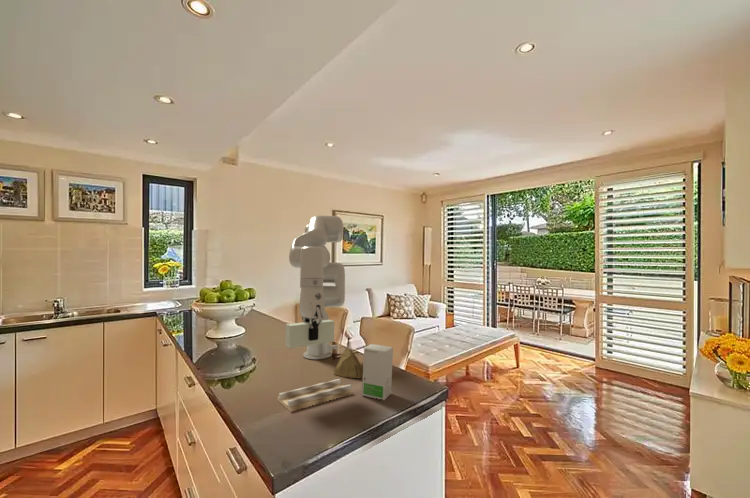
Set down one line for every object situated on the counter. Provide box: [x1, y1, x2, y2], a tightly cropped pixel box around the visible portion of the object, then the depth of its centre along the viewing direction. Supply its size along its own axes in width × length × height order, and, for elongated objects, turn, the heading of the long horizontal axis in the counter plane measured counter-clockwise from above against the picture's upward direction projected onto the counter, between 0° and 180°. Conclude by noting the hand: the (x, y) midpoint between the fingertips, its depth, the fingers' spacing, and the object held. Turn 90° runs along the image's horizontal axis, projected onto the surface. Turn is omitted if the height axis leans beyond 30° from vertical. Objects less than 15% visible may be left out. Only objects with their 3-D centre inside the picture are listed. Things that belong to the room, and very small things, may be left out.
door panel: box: [284, 319, 335, 349], centre depth 112 cm, size 16×4×7 cm, turn 127°
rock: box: [333, 347, 363, 379], centre depth 128 cm, size 11×9×10 cm
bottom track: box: [276, 378, 354, 413], centre depth 109 cm, size 22×10×2 cm, turn 128°
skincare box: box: [361, 343, 394, 401], centre depth 111 cm, size 8×7×16 cm
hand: (310, 338), depth 112 cm, fingers closed on door panel, 3 cm apart
